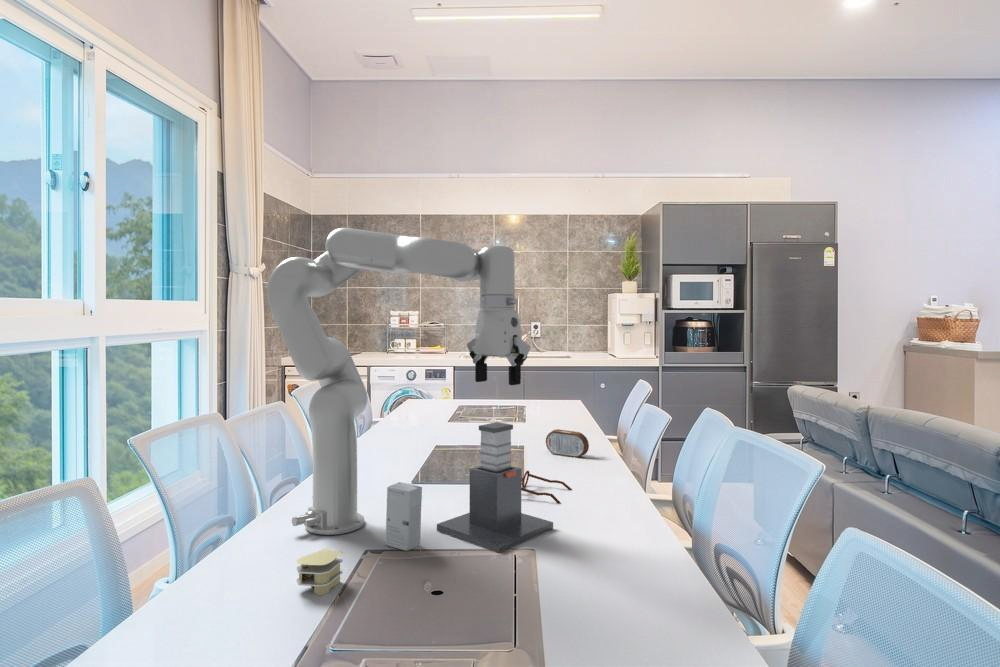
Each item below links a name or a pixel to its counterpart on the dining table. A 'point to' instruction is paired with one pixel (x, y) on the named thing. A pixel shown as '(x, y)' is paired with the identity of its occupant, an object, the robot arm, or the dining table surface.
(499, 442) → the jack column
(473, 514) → the base
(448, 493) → the dining table surface
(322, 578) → the beige layered block
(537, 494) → the glasses
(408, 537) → the skincare box
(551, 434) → the tin
